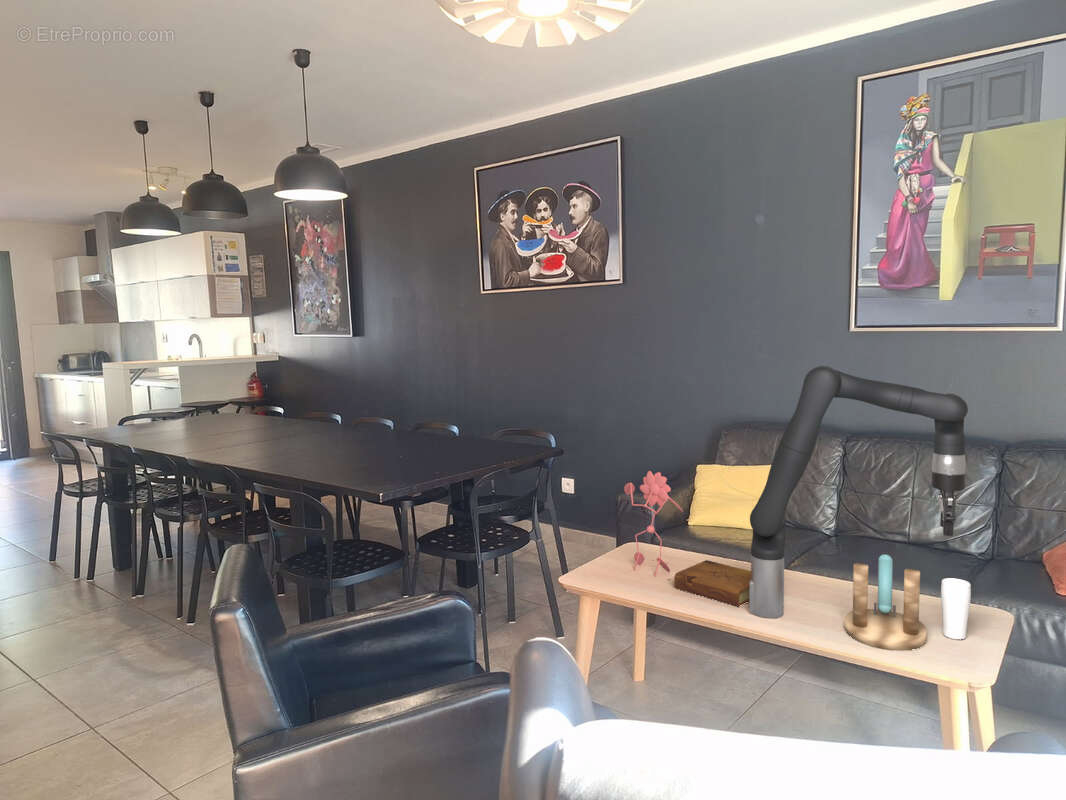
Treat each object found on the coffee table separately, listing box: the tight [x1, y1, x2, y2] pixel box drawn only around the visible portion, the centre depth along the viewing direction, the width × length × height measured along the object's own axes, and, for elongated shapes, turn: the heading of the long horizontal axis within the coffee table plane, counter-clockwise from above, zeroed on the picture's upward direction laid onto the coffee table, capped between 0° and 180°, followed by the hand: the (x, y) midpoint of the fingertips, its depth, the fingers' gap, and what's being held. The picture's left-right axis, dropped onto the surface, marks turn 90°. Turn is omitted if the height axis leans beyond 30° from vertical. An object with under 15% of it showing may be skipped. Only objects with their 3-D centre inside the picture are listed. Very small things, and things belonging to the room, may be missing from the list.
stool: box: [843, 562, 928, 652], centre depth 187 cm, size 20×20×20 cm
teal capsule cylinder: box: [877, 554, 894, 614], centre depth 196 cm, size 4×4×17 cm
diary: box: [674, 559, 751, 608], centre depth 223 cm, size 23×19×6 cm
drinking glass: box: [940, 577, 972, 641], centre depth 185 cm, size 7×7×15 cm
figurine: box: [623, 470, 684, 581], centre depth 244 cm, size 15×26×35 cm, turn 43°
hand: (946, 531), depth 182 cm, fingers open, 8 cm apart
